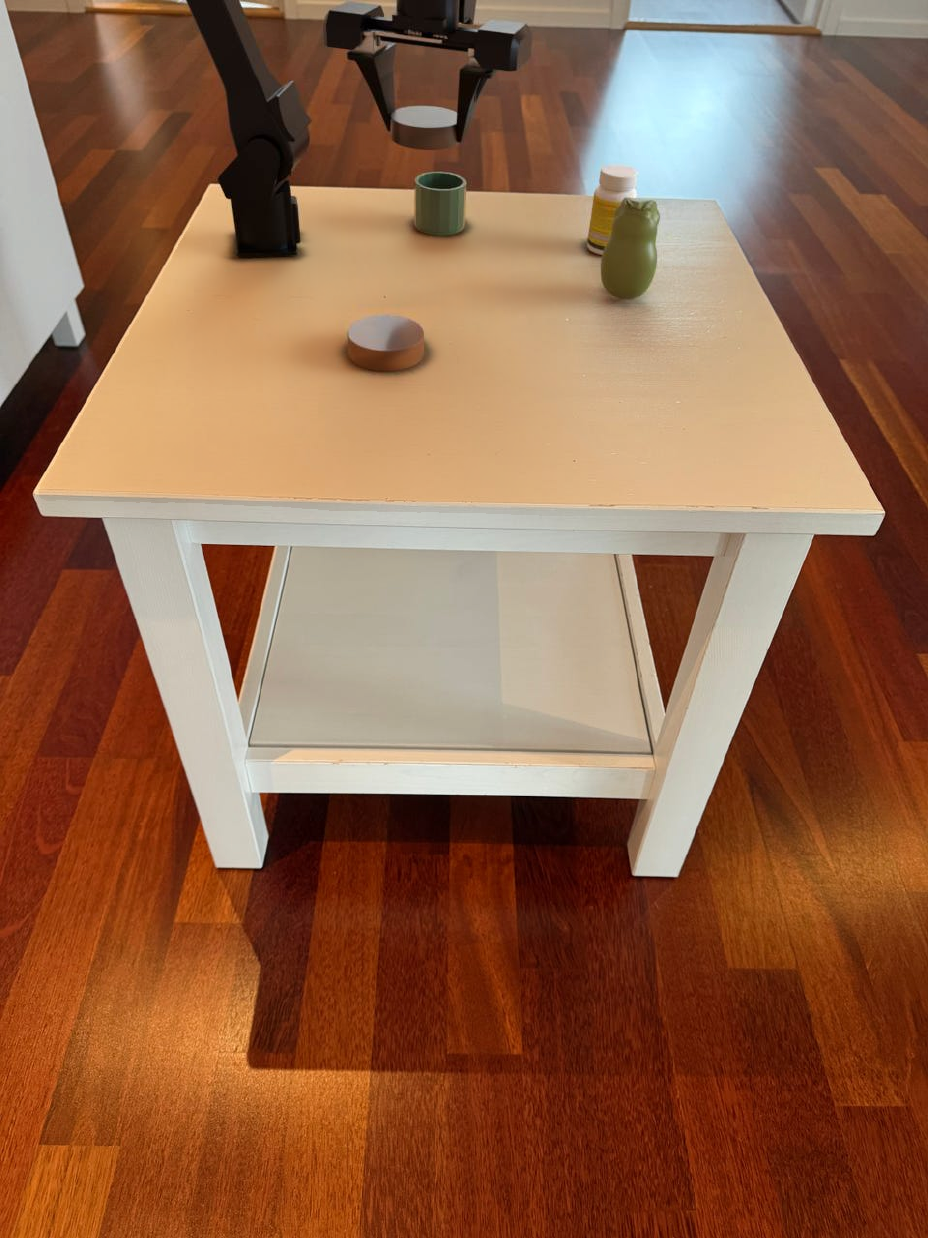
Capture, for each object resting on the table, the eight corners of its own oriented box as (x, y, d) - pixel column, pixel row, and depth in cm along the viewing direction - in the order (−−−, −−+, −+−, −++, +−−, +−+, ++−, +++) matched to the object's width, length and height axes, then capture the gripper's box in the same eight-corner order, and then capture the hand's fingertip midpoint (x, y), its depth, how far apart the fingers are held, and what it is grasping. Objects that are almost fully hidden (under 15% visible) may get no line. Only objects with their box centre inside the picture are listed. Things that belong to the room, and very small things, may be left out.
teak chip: (352, 373, 82) (351, 353, 81) (344, 336, 87) (343, 316, 86) (429, 369, 83) (429, 348, 82) (417, 332, 88) (417, 312, 87)
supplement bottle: (620, 260, 102) (633, 181, 96) (580, 251, 103) (591, 172, 97) (633, 245, 105) (646, 167, 99) (594, 236, 106) (605, 159, 101)
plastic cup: (418, 236, 104) (419, 190, 101) (411, 216, 108) (411, 172, 105) (468, 234, 105) (470, 189, 102) (459, 215, 109) (460, 170, 106)
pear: (593, 303, 94) (608, 203, 87) (599, 282, 98) (613, 184, 91) (648, 311, 93) (667, 210, 86) (651, 289, 97) (670, 190, 90)
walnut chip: (396, 151, 88) (396, 128, 87) (385, 127, 93) (385, 105, 91) (467, 149, 89) (468, 126, 88) (452, 126, 94) (453, 104, 93)
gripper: (554, -61, 84) (537, 126, 95) (363, -81, 87) (368, 101, 98) (523, -41, 76) (508, 159, 87) (315, -64, 79) (326, 131, 90)
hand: (426, 135), depth 91 cm, fingers closed on walnut chip, 7 cm apart
